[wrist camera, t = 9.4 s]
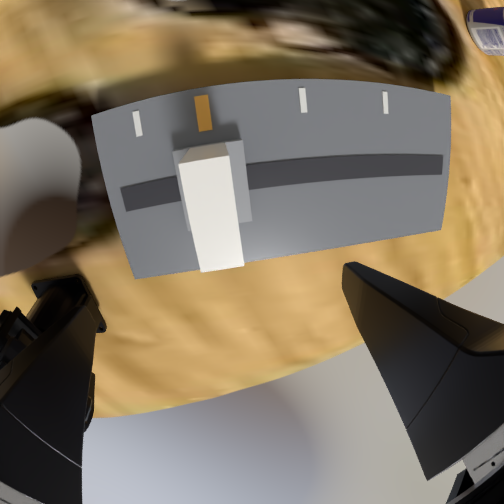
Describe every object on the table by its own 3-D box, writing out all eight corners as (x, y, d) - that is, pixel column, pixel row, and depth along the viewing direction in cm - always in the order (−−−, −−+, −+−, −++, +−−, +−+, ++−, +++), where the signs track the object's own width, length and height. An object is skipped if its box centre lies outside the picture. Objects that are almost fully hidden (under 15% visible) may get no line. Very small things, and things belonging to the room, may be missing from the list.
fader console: (140, 265, 21) (134, 280, 19) (102, 114, 15) (90, 115, 13) (428, 221, 23) (441, 230, 21) (434, 94, 17) (451, 95, 15)
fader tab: (189, 226, 18) (180, 275, 13) (174, 149, 15) (154, 169, 10) (250, 216, 18) (266, 262, 13) (241, 139, 15) (254, 152, 10)
